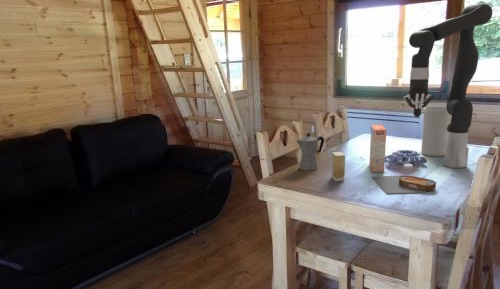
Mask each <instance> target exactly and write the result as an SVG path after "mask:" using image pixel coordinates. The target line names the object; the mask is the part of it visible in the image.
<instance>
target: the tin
mask: <svg viewBox="0 0 500 289" xmlns="http://www.w3.org/2000/svg"><path fill="white" fill-rule="evenodd" d="M399 184H400V185H402V186H405V187H409V188H414V189H418V190H423V191H426V192H430V191H434V190H436V189H437V188H436V187H437V182H436V181H435V180H433V179H429V178H424V177H419V176H413V175H407V176H400V177H399Z"/></svg>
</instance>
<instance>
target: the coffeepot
mask: <svg viewBox="0 0 500 289" xmlns="http://www.w3.org/2000/svg"><path fill="white" fill-rule="evenodd" d="M318 141H320V144H319V146H318ZM324 142H325V138H324V137H323V136H315V137H313V136H311V133H310V132H307V133H306V136H304V137H301V138H298V139H297V140H296V143H297V144H298V145H299V148H300V150H301V151H300V152H301V156H300V161H299V169H300V170H303V171H315V170H318V163H317V157H316V153H321V152H322V149H323V146H324V144H325V143H324ZM317 147H318V150H317Z"/></svg>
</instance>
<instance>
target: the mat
mask: <svg viewBox="0 0 500 289" xmlns="http://www.w3.org/2000/svg"><path fill="white" fill-rule="evenodd" d="M400 176H408V175H407V174H403V175H400V174H399V175H375V176H373V175H371V178H372V180H373V181H374V182H375V183H376V184H377V185H378V187H380V188H381V190H382V191H383V192H384V193H385V194H386V195H405V194H407V195H408V194H409V195H410V194H427V193H428V191H423V190H418V189H414V188H409V187H405V186H402V185H400V184H399V177H400Z"/></svg>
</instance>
